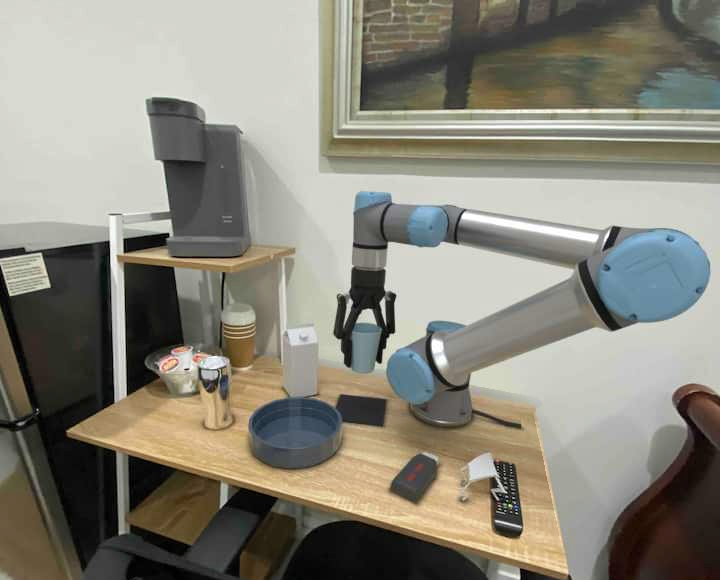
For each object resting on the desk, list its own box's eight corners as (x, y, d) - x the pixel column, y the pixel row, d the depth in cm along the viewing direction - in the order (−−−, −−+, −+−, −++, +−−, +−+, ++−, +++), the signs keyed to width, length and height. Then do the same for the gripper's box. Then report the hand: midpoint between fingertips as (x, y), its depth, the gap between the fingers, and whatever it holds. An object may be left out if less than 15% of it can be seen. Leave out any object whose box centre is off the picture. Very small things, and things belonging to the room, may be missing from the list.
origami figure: (503, 515, 67) (508, 493, 65) (454, 500, 70) (458, 478, 68) (505, 472, 78) (510, 452, 76) (463, 461, 80) (466, 441, 79)
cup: (384, 373, 91) (387, 331, 88) (354, 378, 88) (356, 335, 84) (370, 360, 98) (372, 321, 94) (341, 364, 95) (343, 324, 91)
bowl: (347, 420, 92) (348, 402, 90) (331, 476, 74) (332, 454, 72) (268, 411, 94) (267, 392, 92) (234, 463, 76) (232, 441, 74)
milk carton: (283, 387, 105) (282, 321, 99) (307, 383, 109) (308, 318, 102) (291, 399, 100) (291, 330, 93) (317, 394, 103) (318, 326, 96)
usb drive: (390, 490, 71) (391, 478, 70) (418, 457, 81) (420, 446, 80) (415, 503, 69) (417, 491, 68) (442, 467, 78) (443, 456, 77)
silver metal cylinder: (203, 433, 85) (196, 370, 79) (202, 416, 91) (195, 357, 85) (236, 427, 87) (232, 366, 82) (233, 411, 93) (229, 354, 88)
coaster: (385, 400, 102) (385, 399, 102) (382, 426, 91) (382, 424, 90) (340, 395, 103) (340, 394, 103) (331, 420, 92) (331, 418, 92)
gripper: (401, 263, 91) (393, 352, 99) (318, 264, 84) (317, 361, 92) (417, 269, 85) (407, 364, 93) (330, 272, 77) (327, 375, 85)
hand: (362, 363), depth 92 cm, fingers closed on cup, 7 cm apart
